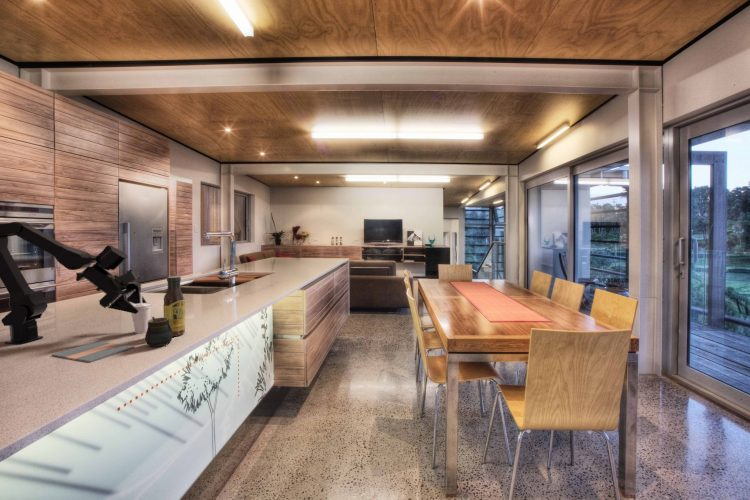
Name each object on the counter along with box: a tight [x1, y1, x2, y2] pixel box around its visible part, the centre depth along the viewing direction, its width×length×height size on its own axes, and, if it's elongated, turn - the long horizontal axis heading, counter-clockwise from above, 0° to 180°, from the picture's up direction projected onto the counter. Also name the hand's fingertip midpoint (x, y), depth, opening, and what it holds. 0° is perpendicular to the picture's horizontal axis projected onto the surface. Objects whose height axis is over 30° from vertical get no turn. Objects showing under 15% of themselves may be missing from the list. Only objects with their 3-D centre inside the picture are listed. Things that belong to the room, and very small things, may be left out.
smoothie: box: [131, 292, 152, 335], centre depth 117 cm, size 6×6×14 cm
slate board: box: [51, 340, 136, 364], centre depth 99 cm, size 16×12×1 cm
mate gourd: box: [144, 316, 174, 348], centre depth 104 cm, size 7×8×10 cm
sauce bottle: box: [163, 275, 186, 337], centre depth 114 cm, size 6×6×20 cm
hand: (142, 309), depth 118 cm, fingers open, 9 cm apart
